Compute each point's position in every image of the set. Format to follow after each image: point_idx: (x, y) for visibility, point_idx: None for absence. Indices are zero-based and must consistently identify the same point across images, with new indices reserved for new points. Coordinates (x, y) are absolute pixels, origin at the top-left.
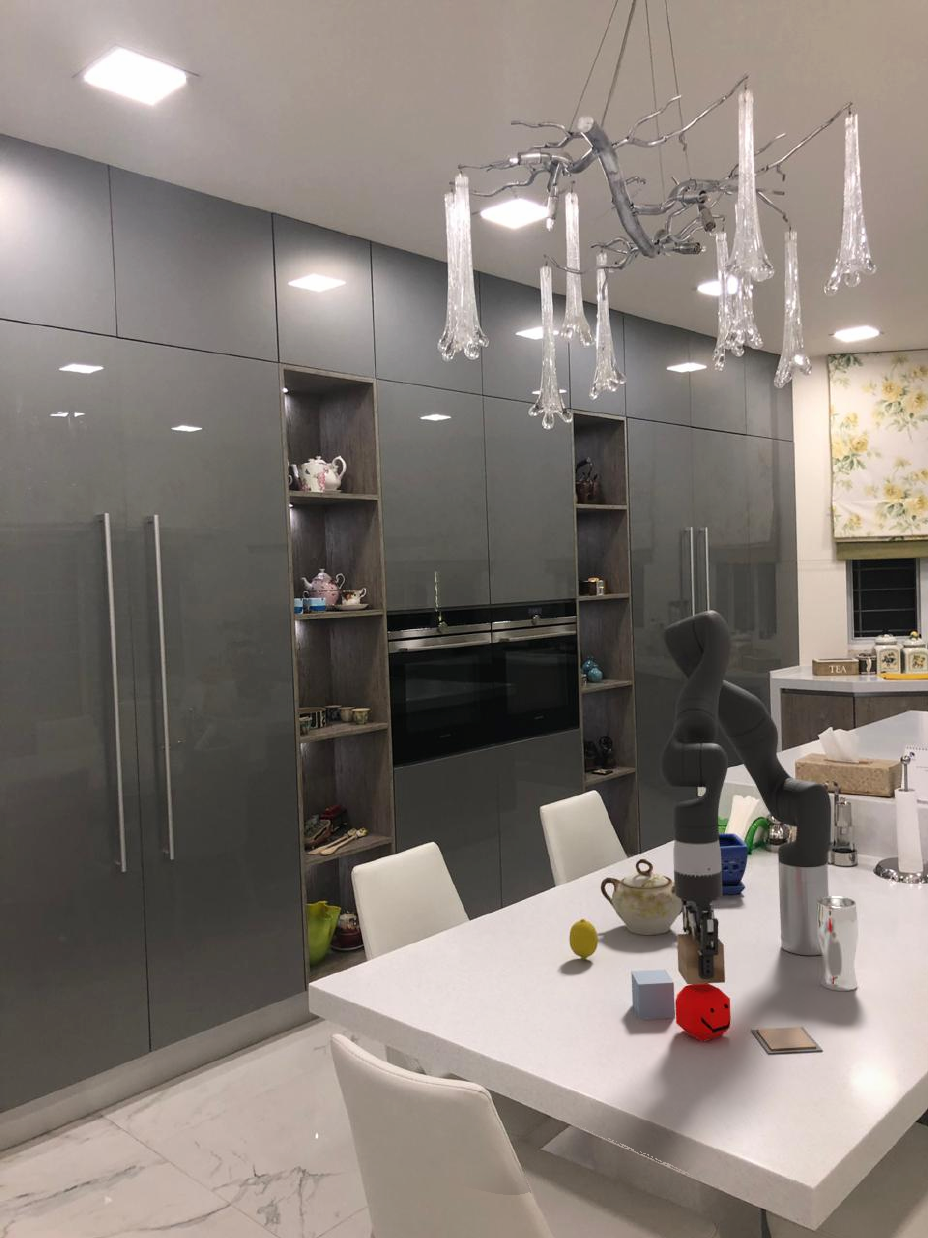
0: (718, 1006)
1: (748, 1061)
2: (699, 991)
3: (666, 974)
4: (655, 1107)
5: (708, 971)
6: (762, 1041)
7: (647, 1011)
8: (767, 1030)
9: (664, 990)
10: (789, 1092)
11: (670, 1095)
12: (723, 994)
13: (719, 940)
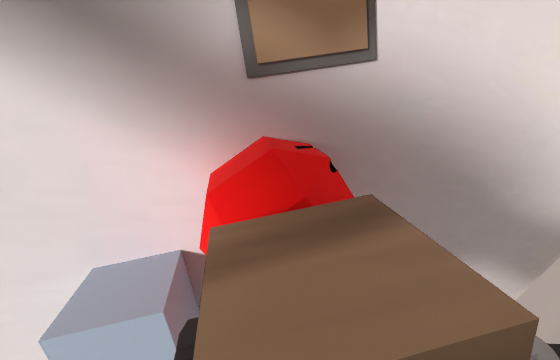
0: (345, 191)
1: (399, 111)
2: None
3: (88, 335)
4: (513, 269)
5: None
6: (316, 61)
7: (194, 313)
8: (262, 33)
9: (175, 317)
10: (527, 51)
11: (488, 251)
12: (306, 178)
13: (432, 355)
